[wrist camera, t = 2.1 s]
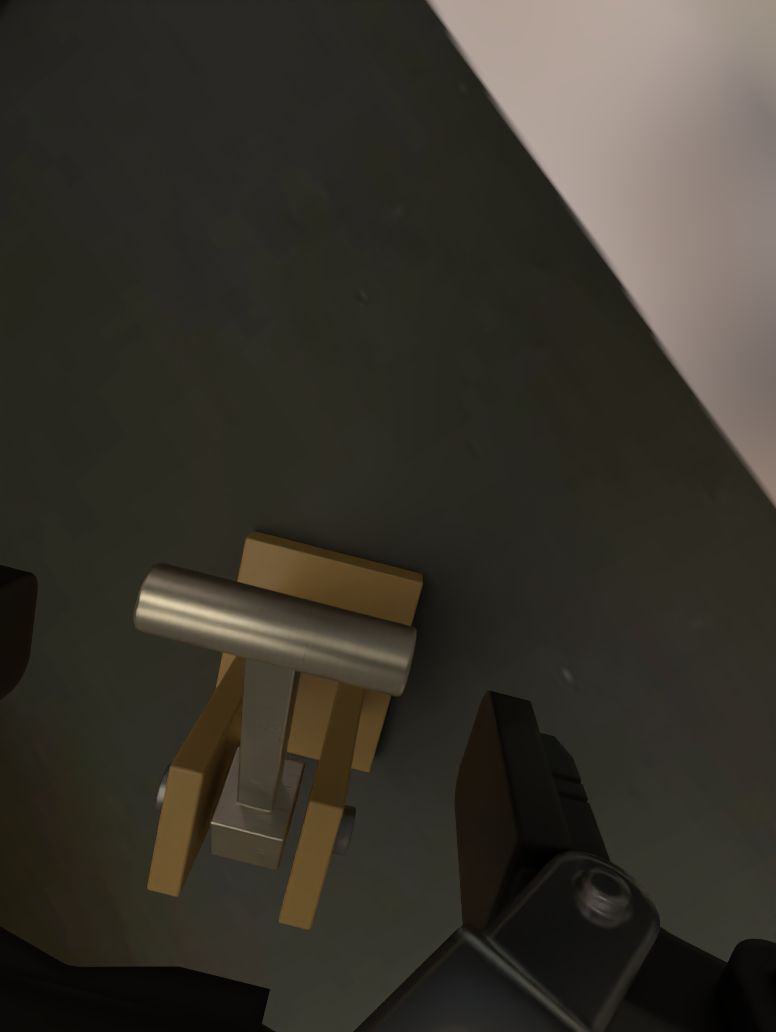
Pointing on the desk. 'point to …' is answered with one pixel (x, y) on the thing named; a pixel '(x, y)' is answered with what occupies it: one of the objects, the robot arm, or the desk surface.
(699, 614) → the desk surface
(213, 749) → the bracket
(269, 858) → the lever
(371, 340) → the desk surface
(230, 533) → the desk surface
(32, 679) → the desk surface
